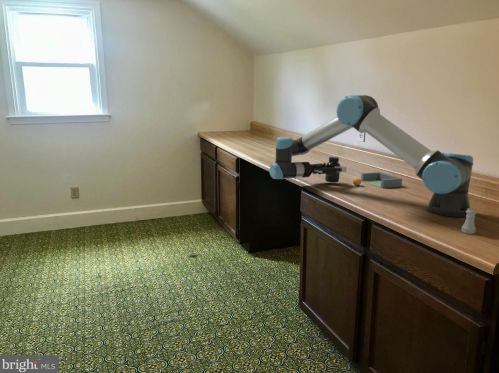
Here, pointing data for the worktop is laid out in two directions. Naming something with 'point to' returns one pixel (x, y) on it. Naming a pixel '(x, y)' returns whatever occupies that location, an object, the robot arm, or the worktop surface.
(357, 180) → the ball
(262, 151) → the worktop surface
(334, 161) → the supplement bottle
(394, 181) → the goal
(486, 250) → the worktop surface
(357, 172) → the worktop surface
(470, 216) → the rook chess piece
